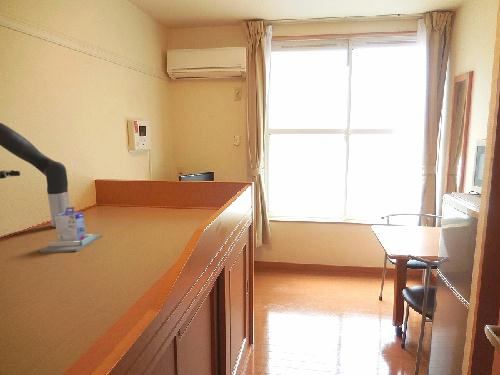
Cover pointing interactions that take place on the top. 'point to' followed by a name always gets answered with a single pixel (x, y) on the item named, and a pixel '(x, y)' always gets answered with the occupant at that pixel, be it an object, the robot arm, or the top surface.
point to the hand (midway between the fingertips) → (12, 174)
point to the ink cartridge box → (70, 226)
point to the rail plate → (70, 244)
